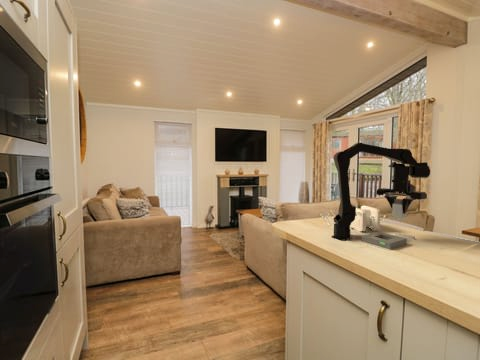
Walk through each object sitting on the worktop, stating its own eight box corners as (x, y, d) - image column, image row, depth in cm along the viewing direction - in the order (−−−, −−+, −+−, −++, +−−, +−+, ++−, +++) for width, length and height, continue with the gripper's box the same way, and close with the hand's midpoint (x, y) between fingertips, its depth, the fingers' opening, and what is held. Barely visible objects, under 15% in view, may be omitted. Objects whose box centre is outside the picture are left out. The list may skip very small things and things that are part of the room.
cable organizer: (381, 233, 124) (382, 209, 124) (361, 234, 123) (361, 210, 122) (363, 225, 139) (363, 204, 138) (344, 226, 138) (345, 205, 137)
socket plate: (361, 242, 110) (362, 235, 110) (378, 238, 116) (378, 231, 116) (389, 250, 100) (390, 243, 100) (406, 245, 106) (406, 238, 106)
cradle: (386, 238, 116) (386, 234, 116) (396, 235, 120) (396, 232, 120) (405, 243, 109) (405, 239, 109) (415, 240, 113) (415, 236, 113)
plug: (391, 216, 114) (392, 199, 113) (396, 215, 116) (397, 198, 115) (401, 218, 111) (402, 200, 110) (406, 217, 113) (407, 199, 112)
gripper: (434, 178, 108) (432, 214, 109) (389, 176, 124) (388, 207, 125) (421, 179, 102) (419, 217, 103) (376, 176, 118) (374, 210, 120)
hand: (399, 212), depth 113 cm, fingers closed on plug, 4 cm apart
